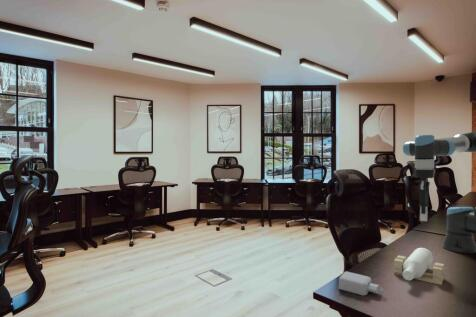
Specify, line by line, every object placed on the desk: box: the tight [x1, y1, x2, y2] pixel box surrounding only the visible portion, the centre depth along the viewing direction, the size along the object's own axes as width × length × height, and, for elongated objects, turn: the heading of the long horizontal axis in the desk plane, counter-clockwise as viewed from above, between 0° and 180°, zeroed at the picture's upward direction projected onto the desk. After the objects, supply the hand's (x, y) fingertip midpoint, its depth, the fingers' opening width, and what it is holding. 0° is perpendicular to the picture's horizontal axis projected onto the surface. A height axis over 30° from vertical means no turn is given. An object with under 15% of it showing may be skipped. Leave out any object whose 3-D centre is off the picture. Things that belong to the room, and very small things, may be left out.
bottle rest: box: [393, 255, 445, 286], centre depth 126 cm, size 8×17×6 cm, turn 51°
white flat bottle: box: [338, 270, 386, 297], centre depth 112 cm, size 5×9×15 cm
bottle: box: [402, 247, 434, 281], centre depth 125 cm, size 8×8×30 cm
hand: (423, 220), depth 136 cm, fingers closed
